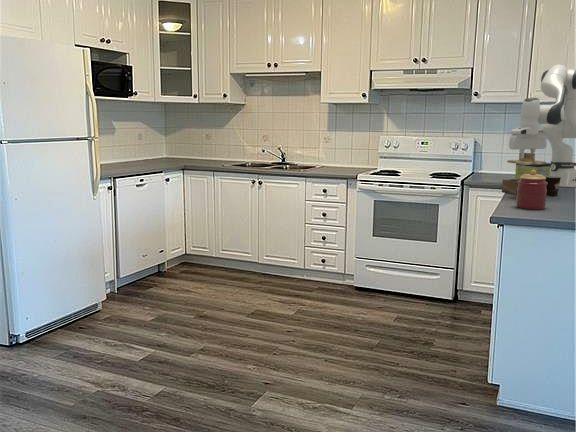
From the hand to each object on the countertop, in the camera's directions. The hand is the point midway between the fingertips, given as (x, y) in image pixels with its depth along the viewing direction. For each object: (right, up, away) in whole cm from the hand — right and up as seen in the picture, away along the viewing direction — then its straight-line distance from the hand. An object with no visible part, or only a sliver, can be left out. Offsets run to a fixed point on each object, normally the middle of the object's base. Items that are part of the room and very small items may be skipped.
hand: (526, 158), depth 282 cm
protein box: (+16, -15, +32) cm, 39 cm away
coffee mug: (+16, -19, +12) cm, 27 cm away
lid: (0, -3, +1) cm, 3 cm away
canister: (-8, -26, -23) cm, 36 cm away
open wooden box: (+4, -17, +19) cm, 26 cm away
